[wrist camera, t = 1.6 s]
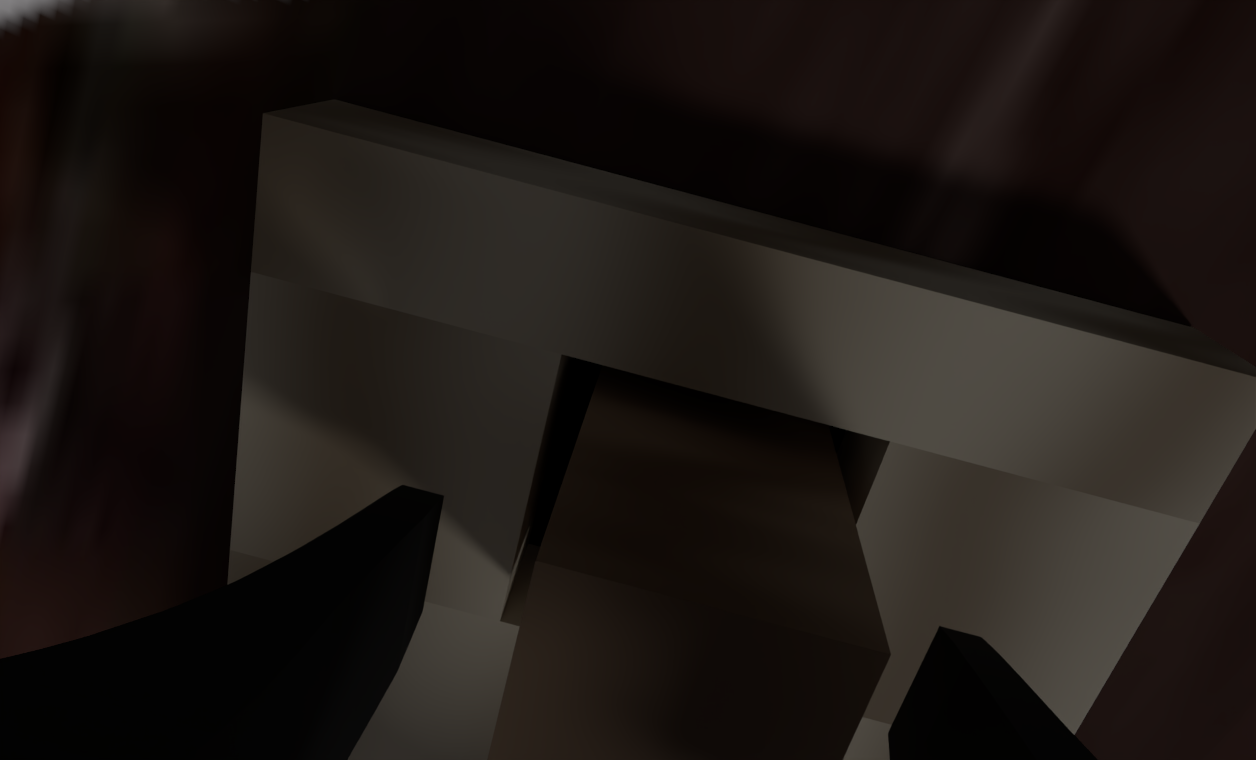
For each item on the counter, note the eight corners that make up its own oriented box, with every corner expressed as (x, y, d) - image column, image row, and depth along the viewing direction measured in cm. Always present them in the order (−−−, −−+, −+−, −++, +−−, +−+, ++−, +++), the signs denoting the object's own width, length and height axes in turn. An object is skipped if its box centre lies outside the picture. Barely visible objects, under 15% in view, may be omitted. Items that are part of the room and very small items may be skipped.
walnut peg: (821, 399, 16) (890, 653, 10) (756, 575, 18) (779, 897, 11) (609, 343, 16) (535, 561, 10) (563, 525, 18) (473, 817, 11)
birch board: (1194, 327, 15) (1291, 389, 12) (815, 1038, 23) (826, 1164, 20) (334, 98, 15) (256, 114, 12) (250, 890, 22) (192, 997, 20)
